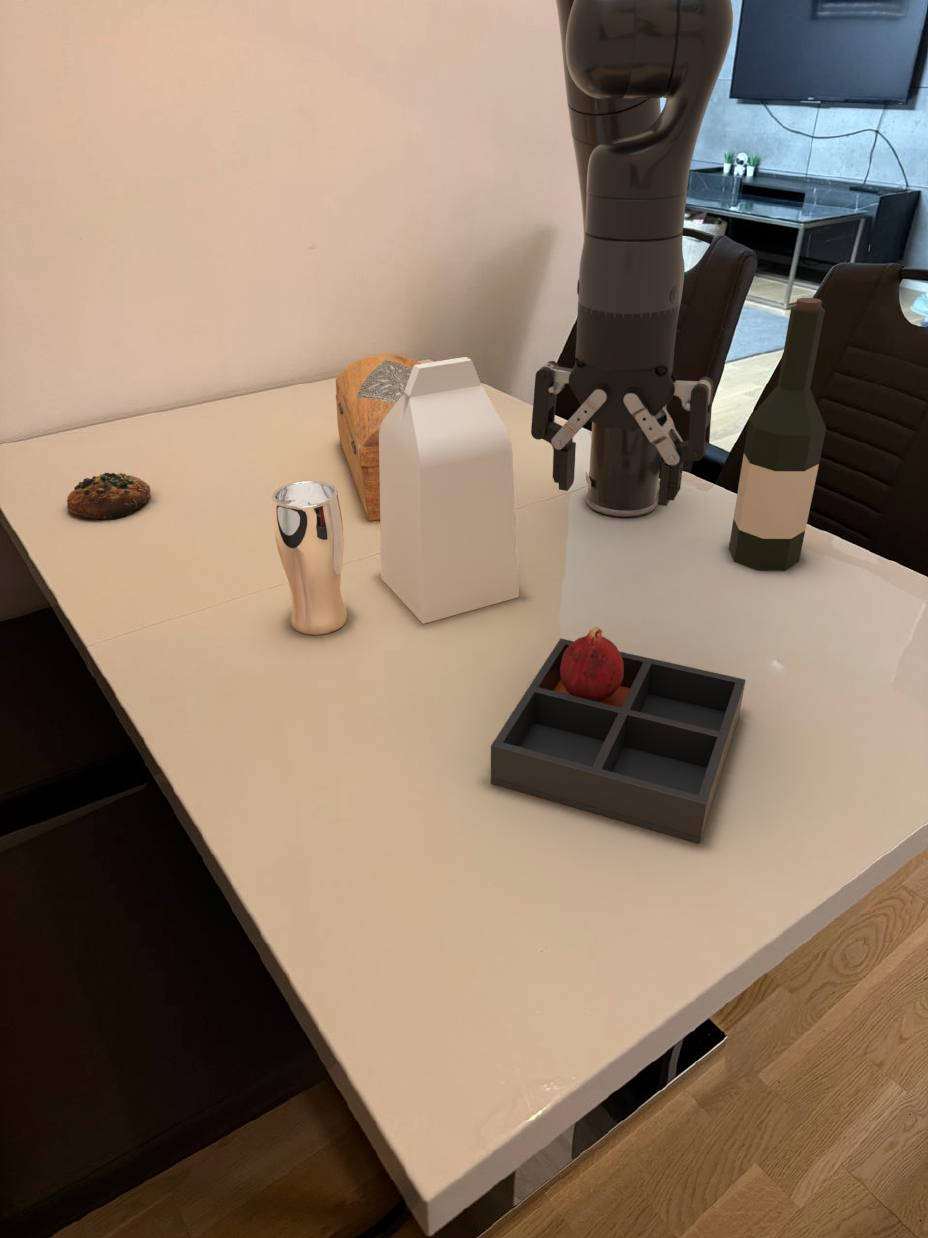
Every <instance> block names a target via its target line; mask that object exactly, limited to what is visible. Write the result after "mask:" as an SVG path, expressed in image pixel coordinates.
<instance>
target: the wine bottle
mask: <svg viewBox="0 0 928 1238" xmlns="http://www.w3.org/2000/svg"><path fill="white" fill-rule="evenodd" d="M795 303H796V304H795V305H793V306H791V307H790V312H789V318H788V323H787V329H786V336H785V341H784V347H783V352H782V358H781V359H782V360H781V364H780V371H779V376H778V381H777V385H776V386H775V387H774V389H773V390H772V391H771V392H770V393H769V394H768V396H767V397H766V398H765V399H764V401H763V402H762V403H761V404H760V405H759V406H758V407H757V409H756V410H755V411H754V412H753V413H752V415H751V416H749V419H748V424H747V431H746V437H745V442H744V443H745V444H744V450H743V457H742V462H741V467H740V474H739V481H738V487H737V493H736V494H737V496H736V501H735V506H734V513H733V519H732V526H731V531H730V537H729V544H728V550H729V553H730V555H731V557H732V559H733V562H735V563H738V564H741V565H743V566H746V567H748V568H751V569H752V570H756V571H781V572H782V571H786V570H788V569H789V568H791V567H793V566H795V565H796V564H798V563H799V562H800V559H801V555H802V548H803V544H804V539H805V534H806V529H807V524H808V520H809V514H810V509H811V505H812V501H813V495H814V491H815V485H816V481H817V476H818V471H819V466H820V461H821V457H822V451H823V446H824V442H825V437H826V432H827V426H826V423H825V422H824V419H823V417H822V414H821V412H820V409H819V407H818V405H817V402H816V400H815V397H814V395H813V392H812V390H811V385H812V381H813V375H814V371H815V365H816V360H817V354H818V351H819V350H818V349H819V344H820V339H821V334H822V330H823V329H822V328H823V323H824V319H825V318H824V317H825V312H826V309H824V308H823V306H822V304H823V300H821V299H820V298H815V297H800V298H797V299H796V302H795Z"/></svg>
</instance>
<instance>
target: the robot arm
mask: <svg viewBox="0 0 928 1238" xmlns="http://www.w3.org/2000/svg"><path fill="white" fill-rule="evenodd" d="M555 3H556V9H557V17H558V18H557V19H558V24H559V25H558V27H559V34H560V43H561V54H562V63H563V65H562V66H563V74H564V75H563V76H564V84H565V92H566V93H565V95H566V103H567V110H568V119H569V126H570V132H571V137H572V143H573V149H574V155H575V163H576V169H577V177H578V184H579V185H578V186H579V192H580V193H579V194H580V201H581V211H582V212H581V213H582V225H583V243H582V249H581V254H580V260H579V270H578V271H579V273H578V280H577V284H576V286H577V287H576V294H577V315H576V316H577V320H576V337H575V338H576V340H575V341H576V342H575V364H574V365H573V368H569V367H564V366H560V365H559V364H558V363H557V362H556V361H555V360H549V361H547V363H545V364H544V365H542V366H541V367H540V368H539V369H538V370H537V371H536V372H535V378H534V388H533V389H534V390H533V401H532V402H533V403H532V415H531V425H530V434H531V436H532V438H533V439H535V440H538V441H540V440H543V441H545V442H547V443H549V444H550V445H551V446H552V450H553V452H552V453H553V454H552V480H553V482H554V483H556V484H558V490H559V491H565V492H568V491H569V490H570V489H571V487H572V486H573V485H574V482H575V471H576V470H575V469H576V450H577V449H576V448H577V446H576V445H577V442H576V441H573V440H574V437H575V436H576V434H577V433H578V432H579V431H580V430H581V429H582V428H583V427H584V426H585V425H586V424H587V423H588V421H589V420H590V422H591V423H592V424H591V436H590V437H591V440H590V452H589V453H590V454H589V469H588V472H587V471H585V481H586V484H587V492H586V504H587V506H588V507H589V508H590V509H592V510H594V511H595V512H598V513H600V514H603V515H607V516H611V517H620V518H629V517H630V518H631V517H632V518H633V517H639V516H643V515H646V514H649V513H651V512H652V511H654V510H655V509H656V507H657V506H662V507H667V506H668V505H669V503H670V502H671V501H675V499H676V497H677V495H678V493H679V492H680V491H681V486H682V477H683V470H684V469H683V468H684V463H685V462H688V461H693V462H698V461H701V460H702V459H703V457H704V456H705V454H706V453H707V450H708V448H709V446H710V442H711V441H710V439H711V426H712V409H713V395H714V394H713V393H714V382H713V380H712V379H711V377H708V376H702V377H701V378H699V379H698V380H697V381H696V380H680V379H679V380H677V378H676V375H675V372H674V359H675V347H676V338H677V329H678V326H677V325H678V320H679V316H680V315H679V314H680V307H681V302H682V297H683V291H684V290H683V289H684V282H685V259H684V254H683V253H684V252H683V239H684V238H683V236H684V234H683V232H684V225H685V224H684V223H685V216H686V207H687V206H686V205H687V194H688V184H689V177H690V171H691V165H692V161H693V158H694V157H693V156H694V153H695V148H696V145H697V142H698V138H699V134H700V131H701V128H702V125H703V121H704V118H705V115H706V112H707V109H708V107H709V103H710V100H711V98H712V95H713V93H714V90H715V87H716V85H717V82H718V79H719V77H720V74H721V71H722V68H723V66H724V63H725V60H726V56H727V53H728V50H729V47H730V44H731V40H732V34H733V28H734V26H733V25H734V11H733V3H732V0H555ZM662 98H663V99H665V104H664V105H663V109H662V108H661V99H662ZM661 109H662V110H661ZM566 384H568V385H569V388H570V390H571V391H572V393H573V394H574V396H575V398H576V400H577V401H578V402H579V404H580V406H579V407H578V408H577V410H576V411H575V412H574V413H573V414H572V415H571V416H570V417H569V418H568V420H566V422H565V423H564V424H563V425H561V424H560V423H558V422H556V421H555V419H556V409H557V399H558V394H559V393H561V392H562V391H563V390H564V388H565V385H566ZM674 396H675V397H677V398H679V400H680V401H681V407H682V408H683V409H684V410H686V411H687V412H689V421H688V422H689V425H688V440H683V438H682V437H681V435H680V434H679V432H678V431H677V429H676V426H675V422H674V420H673V418H672V417H671V415H670V414H669V412H668V410H667V406H668V405H667V404H669V402H670V401H672V399H673V397H674ZM658 485H659V487H658Z"/></svg>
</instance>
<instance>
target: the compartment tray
mask: <svg viewBox="0 0 928 1238" xmlns="http://www.w3.org/2000/svg"><path fill="white" fill-rule="evenodd" d="M574 641H575V640H571V639H566V638H559V640H558V641H557V643H556V644H555V646H554V647H553V649H552V651H551V652H550V654H549V655H548V656H547V658H546V659H545V661H544V663H543V665H542V666H541V668H540V669H539V670H538V672H537V674H536V675H535V676H534V678H533V680H532V681H531V683H530V685H529V686H528V687H527V689H526V690H525V692H524V694H523V696H522V697H521V698H520V700H519V701H518V703H517V704H516V706H515V708H514V709H513V711H511V714H510V715H509V717H508V718H507V720H506V722H505V723H504V725H503V726H502V728H501V729H500V731H499V732H498V734H497V736H496V737H495V739H494V740H493V742H491V744H490V784H492V785H497V786H500V787H503V788H507V789H510V790H514V791H517V792H520V793H524V794H527V795H530V796H534V797H538V798H541V799H544V800H548V801H552V802H555V803H559V804H562V805H565V806H569V807H572V808H576V809H578V810H582V811H586V812H590V813H593V814H596V815H600V816H603V817H607V818H610V819H614V820H617V821H621V822H624V823H628V824H631V825H635V826H638V827H641V828H645V829H648V830H652V831H655V832H659V833H662V834H666V835H669V836H673V837H676V838H679V839H683V840H687V841H689V842H693V843H696V844H700V843H701V841H702V838H703V835H704V832H705V829H706V825H707V822H708V818H709V815H710V812H711V808H712V805H713V802H714V799H715V796H716V793H717V789H718V785H719V783H720V779H721V777H722V773H723V769H724V767H725V763H726V759H727V756H728V753H729V750H730V748H731V745H732V744H731V743H732V742H733V737H734V734H735V731H736V729H737V728H736V727H737V723H738V721H739V717H740V713H741V707H742V703H743V697H744V690H745V686H746V679H745V678H740V677H736V676H731V675H727V674H724V673H723V674H722V673H718V672H713V671H709V670H704V669H700V668H695V667H691V666H686V665H682V664H678V663H674V662H673V663H672V662H668V661H663V660H659V659H656V658H650V657H646V656H642V655H638V654H633V653H628V652H623V651H620V650H619V652H620V654H621V656H622V659H623V663H624V674H623V680H622V683H621V685H620V686H619V688H618V689H617V690H616V691H615V692H614V693H613V695H612V696H610V697H608V698H606V699H605V700H603V701H601V702H597V701H593V700H588V699H584V698H580V697H576V696H572V695H571V694H570V693H569V692H568V691H567V690H566V689H565V687H564V685H563V683H562V680H561V677H560V665H561V660H562V656H563V654H564V652H565V650H566V649H567V648H568V647H569V646H570V645H571V644H572V643H573V642H574Z"/></svg>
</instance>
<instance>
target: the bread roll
mask: <svg viewBox="0 0 928 1238" xmlns="http://www.w3.org/2000/svg"><path fill="white" fill-rule="evenodd" d="M150 496H151V486H150V485H149V484H148V482H146V481H144V480H143V479H141V478H140V477H137V476H134V475H129V474H126V473H123V472H120V473H115V472H111V473H110V472H104V473H101V474H99V475H97V476H96V475H93V476H92V477H91V478H89V477H86V478H83V480H82V481H79V482H78V483H77V485H75V486H74V487H73V490H71V492H69V494H68V495H67V499H66V503H67V504H66V509H67V510H68V511H69V512H70V513H71V514H74V515H75V516H79V517H82V518H90V519H95V520H98V519H102V520H107V521H110V520H111V521H112V520H115V519H118V518H122V517H123V516H126V515H129V514H131V513H133V512H135V510H139V509H140V508H141V507H142V506H144V505H145V504H146V503H147V500H148V498H150Z"/></svg>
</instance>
